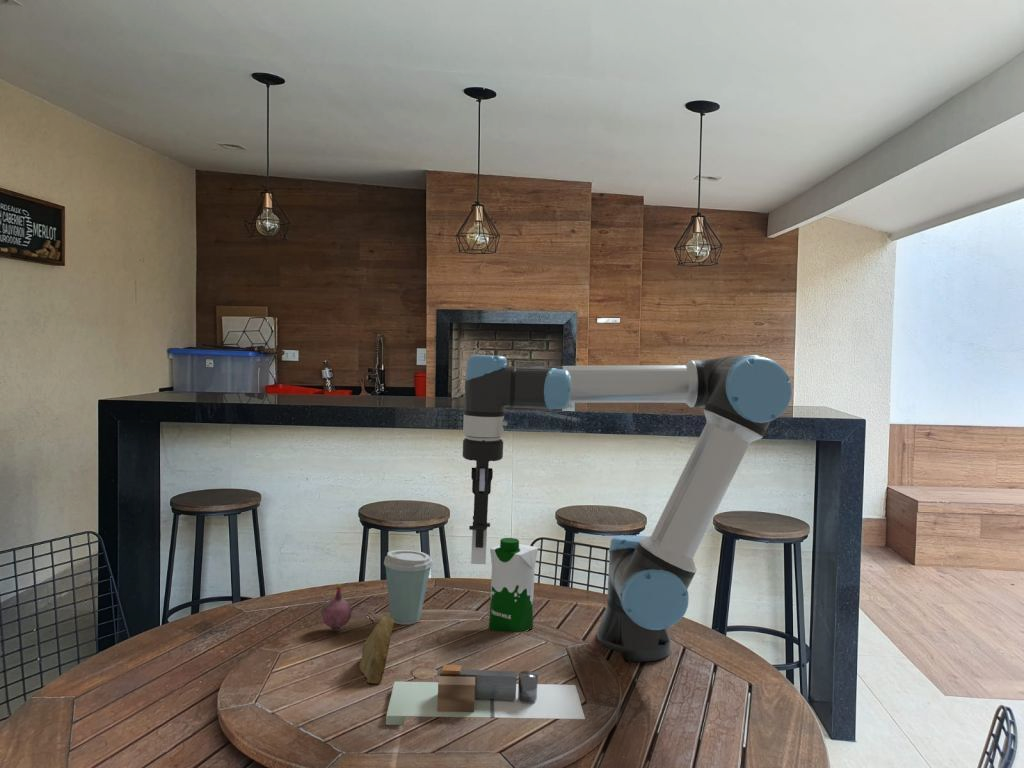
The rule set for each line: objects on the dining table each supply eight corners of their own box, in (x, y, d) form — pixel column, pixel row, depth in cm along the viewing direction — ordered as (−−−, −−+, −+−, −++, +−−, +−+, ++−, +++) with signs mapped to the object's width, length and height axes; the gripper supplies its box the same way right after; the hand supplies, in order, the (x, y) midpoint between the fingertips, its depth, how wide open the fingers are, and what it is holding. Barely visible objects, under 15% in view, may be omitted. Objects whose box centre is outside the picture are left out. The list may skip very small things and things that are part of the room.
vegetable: (355, 633, 155) (357, 586, 154) (327, 638, 151) (328, 590, 151) (344, 623, 160) (346, 577, 159) (316, 628, 156) (318, 582, 156)
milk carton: (482, 630, 159) (486, 538, 158) (505, 618, 166) (509, 530, 165) (517, 641, 154) (521, 546, 153) (539, 628, 162) (543, 537, 161)
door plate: (574, 693, 132) (575, 684, 132) (584, 727, 120) (585, 718, 120) (394, 689, 130) (394, 681, 130) (386, 724, 118) (386, 715, 118)
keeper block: (474, 703, 123) (475, 676, 123) (474, 712, 120) (475, 685, 120) (438, 702, 123) (439, 676, 123) (437, 711, 120) (438, 684, 120)
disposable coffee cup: (405, 607, 171) (407, 543, 170) (440, 619, 164) (443, 552, 163) (371, 620, 162) (373, 553, 161) (407, 633, 156) (409, 563, 155)
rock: (393, 677, 130) (415, 648, 140) (365, 637, 130) (389, 610, 140) (349, 702, 134) (374, 672, 143) (322, 663, 134) (349, 636, 143)
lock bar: (536, 693, 127) (537, 667, 127) (537, 702, 124) (538, 676, 123) (440, 689, 127) (441, 663, 127) (437, 698, 124) (439, 671, 124)
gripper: (504, 443, 131) (499, 574, 133) (502, 434, 144) (497, 553, 146) (462, 441, 131) (457, 573, 132) (463, 433, 144) (459, 552, 145)
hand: (478, 562), depth 139 cm, fingers closed
